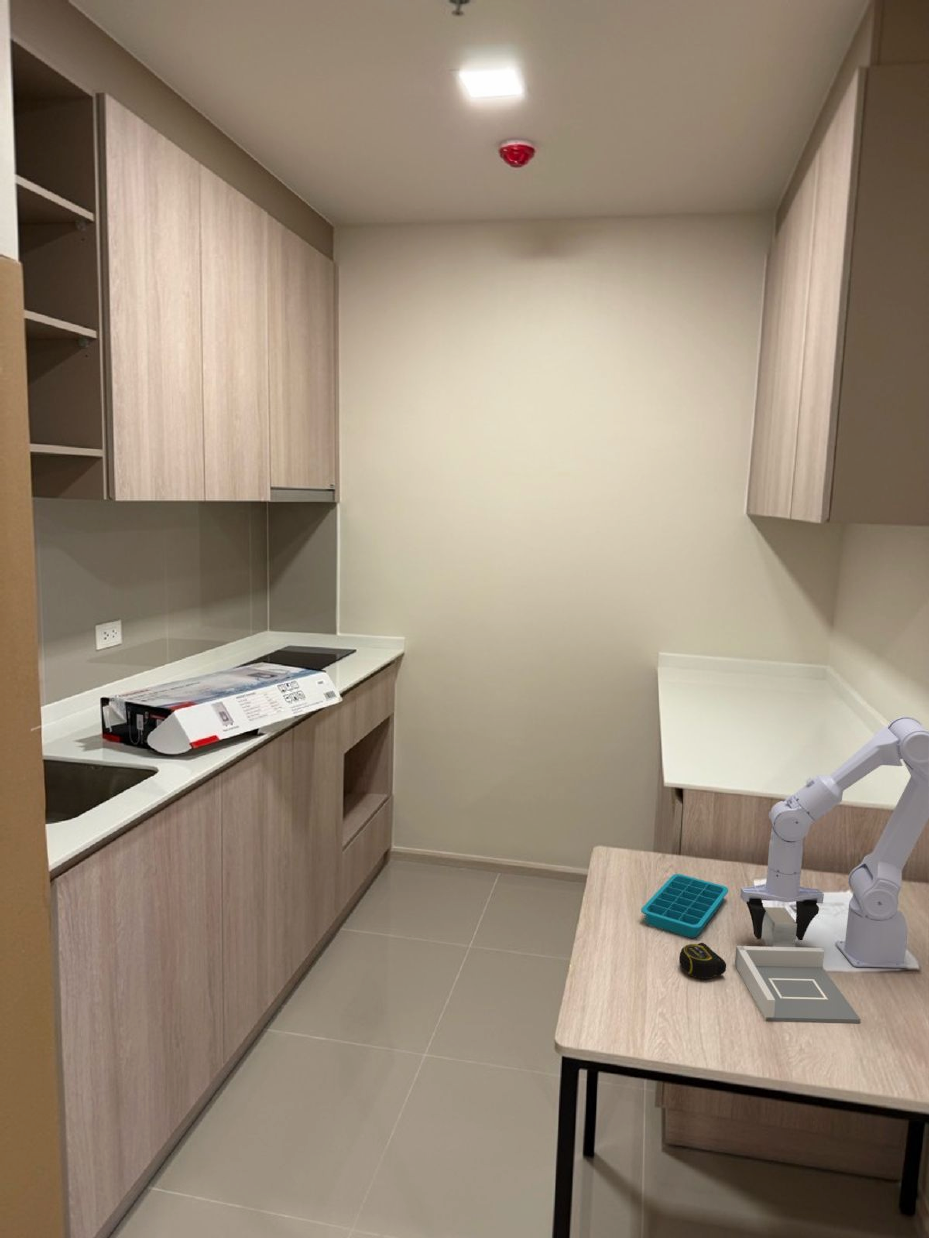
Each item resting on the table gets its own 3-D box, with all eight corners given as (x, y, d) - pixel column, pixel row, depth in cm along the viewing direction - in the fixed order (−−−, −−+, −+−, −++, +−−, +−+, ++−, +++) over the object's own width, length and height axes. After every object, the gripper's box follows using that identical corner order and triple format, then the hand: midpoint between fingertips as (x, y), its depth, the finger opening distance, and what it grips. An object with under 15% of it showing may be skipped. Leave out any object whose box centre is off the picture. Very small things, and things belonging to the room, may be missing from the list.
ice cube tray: (638, 925, 167) (639, 910, 166) (674, 885, 184) (674, 872, 183) (697, 943, 161) (698, 928, 160) (729, 901, 178) (730, 887, 177)
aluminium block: (782, 937, 163) (784, 907, 162) (794, 954, 157) (797, 923, 157) (760, 936, 163) (763, 906, 162) (772, 954, 157) (774, 923, 156)
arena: (819, 966, 154) (821, 947, 153) (860, 1022, 138) (862, 1001, 137) (734, 964, 153) (736, 945, 153) (765, 1020, 138) (767, 999, 137)
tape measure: (727, 979, 149) (729, 959, 149) (692, 985, 147) (694, 965, 146) (704, 958, 156) (706, 939, 155) (671, 963, 153) (672, 944, 153)
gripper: (815, 859, 162) (808, 926, 164) (737, 857, 162) (732, 924, 164) (831, 876, 155) (824, 946, 157) (749, 874, 155) (743, 944, 157)
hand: (777, 936), depth 160 cm, fingers open, 7 cm apart
